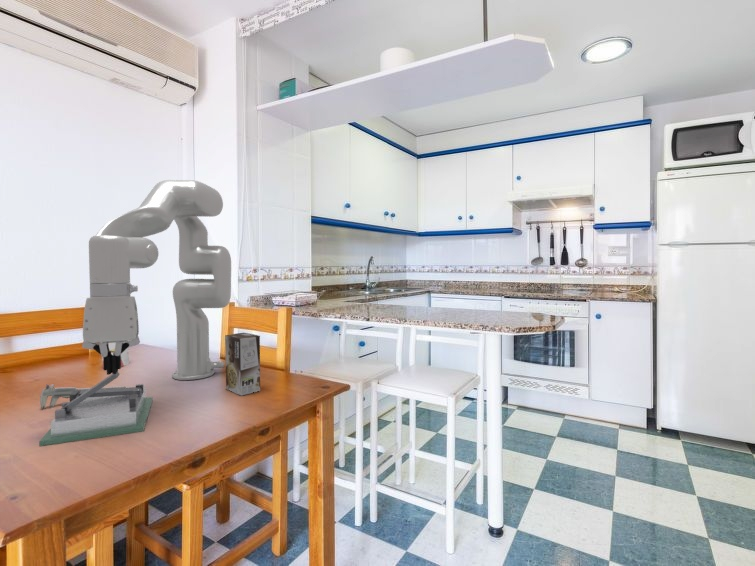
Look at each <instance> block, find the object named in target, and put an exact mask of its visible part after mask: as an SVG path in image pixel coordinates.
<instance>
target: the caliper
mask: <svg viewBox="0 0 755 566" xmlns="http://www.w3.org/2000/svg"><path fill="white" fill-rule="evenodd" d="M90 388H91V387H84V388H83V387H81V388H77V387H75V386H72V387H71V386H70V387H69V386H68V387H64V386H63V387H55V384H53V383H52V384H51V385H50V384H48V383H47V384H46V386H45V388H42V390H41V393H40V396H39V397H40V400H39V401H40V408H41V409H42V410H45V408H46V404H47V401H48V397H51V398H50V402H49V408H51V407H52V408H54V407H55V405H56V403H57V402H58V400H59V399H60V398H63V399H70V394H71V393H72V392H73V391H75V390H80V392H81V391H82V390H89V389H90ZM113 388H127V387H126V386H123V385H121V386H107V387H106V386H104V387H103V388H101V389H113Z"/></svg>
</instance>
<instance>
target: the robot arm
mask: <svg viewBox="0 0 755 566" xmlns="http://www.w3.org/2000/svg"><path fill="white" fill-rule="evenodd" d="M223 207H224V201H223V197H222V196H221V193H220V192H219V191H218V190H217V189H215V188H213V187H212V186H210V185H208V184H207V183H204V182H201V181H198V180H191V179H189V180H188V179H184V180H183V179H176V180H175V179H166V180H161V181H158V183H156V184H155V185H154V186H153V187H152V189H151V191H150V192H148V194H147V196H146V197H145V199H144V200H143V201H141V204H140V205H139V207H137V208H135V209H132V210H130V211H127V212H126V213H124V214H122V215H120V216H119V215H118V216H117V217H115V218H113V219H112V220H110V221H108V222H107V223H105V224H104V225H103V226H102V227H101V228H100V229H99V230H98V232H97V233H96V234H95V235H93V236H91V237H90V238H89V240H88V261H89V262H88V264H89V266H88V269H89V272H88V273H89V297H87V298H86V300H85V305H84V311H83V321H82V322H83V323H82V339H83V341H82V346H81V348H83V349H85V350H86V349H87V350H94V351H95V352H97V353H98V354H99V355H100V356H101V357H102V365H103V364H104V369H103V371H106V375H108V376H110V375H111V374H116V373H117V372H118V373H119V370H121V368H122V367H121V353H122V352H124V351H125V350H126V349H127V348H128V347H129V348H132V347H135V346H139V344H140V343H141V341H140V337H139V334H140V333H139V331H140V330H139V329H140V328H139V316H138V308H137V307H138V305H137V302H136V297H135V296H131V295H132V293H134V292H136V293H137V292H138V290H139V286H138V285H135V284H131V269H145V268H146V269H147V268H149V267H151V266H154V264H155V263H156V262H157V260H158V259H159V248H158V247H157V244H155V242H154V241H153V240H151V239H149V238H146V237H149V236H154V235H156V234H160V233H163V232H164V231H167V230H168V229H169V228H170V227H171V224H172V223H173V222H175V225H176V226H177V230H178V238H179V239H178V266H179V269H180V271H181V273H184V274H187V275H194V276H195V275H201V276H203V275H204V276H205V275H207V276H208V275H209V276H210V275H211V276H213V278H186V279H181V280H179V281H177V282H176V283H175V284H174V285H173V288H172V298H173V303H174V309H175V316H176V352H177V353H176V355H177V356H176V357H177V361H176V362H177V364H176V365H177V370H176V371H173V372H172V374H171V376H172V379H174V380H178V381H194V380H201V379H205V378H208V377H211V376H213V375H215V369H216V368H217V369H222V368H223V369H224V368H225V361H219V360H217V361H212V360H211V358H210V323H209V322H210V321H209V319H208V317H207V315H206V313H205V312H204V311H203V309H223V308H226V307H227V306H228V305H229V304H230V301H231V296H232V257H231V253H230V251H229V250H228V249H227V248H226V247H225V246H223V245H209V244H208V243H209V241H208V239H209V236H208V235H209V234H208V229H207V227H206V226H205V224H204V223H203V222H202V220H201V219H199V217H209V218H211V217H216V216H218V215H220V214H221V213H222V211H223ZM126 341H128V342H126ZM112 342H116V345H115V352H114V353H113V355H112V354H111V352H110V350H109V344H108V343H112ZM124 342H125V343H124Z"/></svg>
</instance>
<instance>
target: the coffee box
mask: <svg viewBox="0 0 755 566" xmlns="http://www.w3.org/2000/svg"><path fill="white" fill-rule="evenodd" d="M260 339H261V335H257V334H253V333H248V332H238V333H233V334H226V335H224V353H225V354H224V355H225V357H224V358H225V390H226V389H227V391H229V390H230V391H229V392H231V391H232V392H231V393H234V394H236V395H239V396H241V397H242V396H245V395H249V394H254V393H258V392H257V391H259V392H261V340H260ZM253 392H254V393H253Z"/></svg>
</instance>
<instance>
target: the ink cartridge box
mask: <svg viewBox="0 0 755 566" xmlns="http://www.w3.org/2000/svg"><path fill="white" fill-rule="evenodd" d="M126 342H128V341H126ZM124 343H125V342H124ZM108 344H109V350H110V352H111V354H112V355H113V353H114V352H115V345H116V342H112V343H108ZM129 364H130V347H128V348H127V349H126V350H125V351H124V352H122V353H121V368H123V367H124V366H126V365H129ZM102 369H103V370H104V364H103V363H102Z"/></svg>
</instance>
